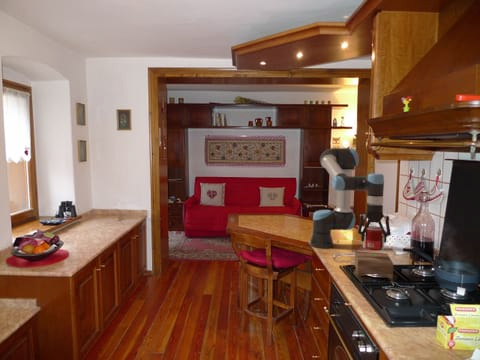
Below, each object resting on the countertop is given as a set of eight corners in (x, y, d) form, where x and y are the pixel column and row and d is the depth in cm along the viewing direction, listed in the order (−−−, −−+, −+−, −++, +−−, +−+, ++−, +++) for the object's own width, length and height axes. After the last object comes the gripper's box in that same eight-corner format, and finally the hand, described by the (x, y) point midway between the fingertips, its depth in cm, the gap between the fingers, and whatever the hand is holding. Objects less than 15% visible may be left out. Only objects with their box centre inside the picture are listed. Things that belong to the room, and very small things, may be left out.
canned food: (384, 250, 159) (385, 229, 158) (368, 250, 159) (369, 229, 158) (378, 246, 167) (378, 225, 166) (362, 246, 167) (363, 225, 166)
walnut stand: (354, 265, 174) (355, 251, 173) (386, 268, 169) (387, 253, 169) (357, 276, 158) (358, 260, 158) (392, 279, 154) (393, 263, 153)
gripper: (353, 204, 160) (352, 248, 162) (399, 206, 155) (397, 251, 156) (352, 202, 167) (351, 244, 169) (395, 203, 162) (394, 247, 164)
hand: (373, 248), depth 163 cm, fingers closed on canned food, 8 cm apart
